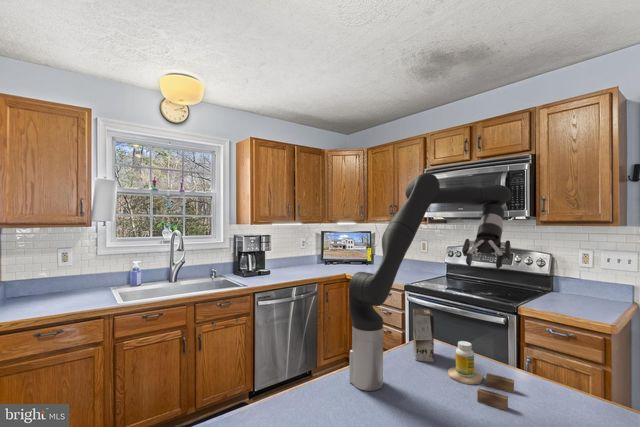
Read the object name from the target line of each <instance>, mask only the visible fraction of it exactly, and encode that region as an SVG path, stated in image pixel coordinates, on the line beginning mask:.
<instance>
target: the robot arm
mask: <svg viewBox="0 0 640 427" xmlns="http://www.w3.org/2000/svg"><path fill="white" fill-rule="evenodd" d="M404 192H405V197H406V198H407V200H406V201H405V203H404V204H402V206H401V207H400V208H399V209H398V211H397V212H396V213H395V214H394V215H393V217H392V219H391V220H390V221H389V223H388V225H387V226H386V227H385V231H384V232H383V234H382V237H381V248H382V259H381V262H380V264H379V267H378V268H377V270H376V271H375V273H371V272H366V271H357V272H355V273H354V274H353V275H352V276H351V278H350V281H349V284H348V285H349V286H348V300H349V301H348V302H349V304H348V305H349V315H350V319H351V323H352V324H351V325H352V326H351V328H352V331H351V332H352V333H351V334H352V337H351V338H352V339H351V340H352V341H351V343H352V345H351V347H352V348H351V349H350V350H349V365H348V366H349V372H348V373H349V374H348V376H349V380H348V381H349V383H351V384H352V385H353V386H354V387H355V388H357V389H358V390H362V391H366V392H367V391H369V392H371V391H372V392H373V391H378V390H380V389H381V388H383V386H384V319H383V316H382V315H380V313H378V312H377V311H376V309H374V307H379V306H382V305H383V304H384V303H385V301H387V299H388V297H389V295H390V292H391V290H392V288H393V286H394V282H395V279H396V277H397V275H398V274H397V273H398V271H399V269H400V267H401V264H402V262H403V261H404V258H405V256H406V254H407V251H408V250H409V248H410V246H411V245H412V242H413V241H414V238H415V236H416V235H417V232H418V230H419V227H420V226H421V224H422V222H423V219H424V217H425V214H426V212H427V211H428V209H429V208H430V205H433V204H434V205H435V204H436V205H437V204H439V205H440V204H458V205H469V206H481V209H482V213H481V219H480V221H479V224H478V228H477V231H476V232H477V233H476V238H475V239H474V240H470V239H469V238H466V239H465V241H464V244H463V246H462V249H461V252H462V255H463V257H465V263H466V265H467V267H471V266H472V262H473V258H474V256H478V255H479V254H490V255H491V254H493V255H495V257H496V262H495V268H496V269H497V270H499V269H500V268H502V267H503V262H504V260H510V259H511V253H512V252H511V248H512V246H511V241H510V240H508V239H507V240H506V241H505V242H504V241H503V242H502V241H501V240H502V235H503V231H504V218H505V209H504V208H503V206H505V204H506V203H508V202H509V201H510V200H511V198H512V192H511V190H510V188H508V187H507V186H505V185H502V184H492V185H483V186H475V185H467V184H465V185H454V186H447V187H441V186H440V181H439V179H438V177H437V176H436V175H434V174H433V173H430V172H426V173H421V174H420V175H417V177H415V178H414V179H413V180H412V181H410V182H409V184H408V185H407V186H406V188H405V191H404ZM501 247H502V248H503V249H504V252H502V251H501V250H500V248H501Z"/></svg>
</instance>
